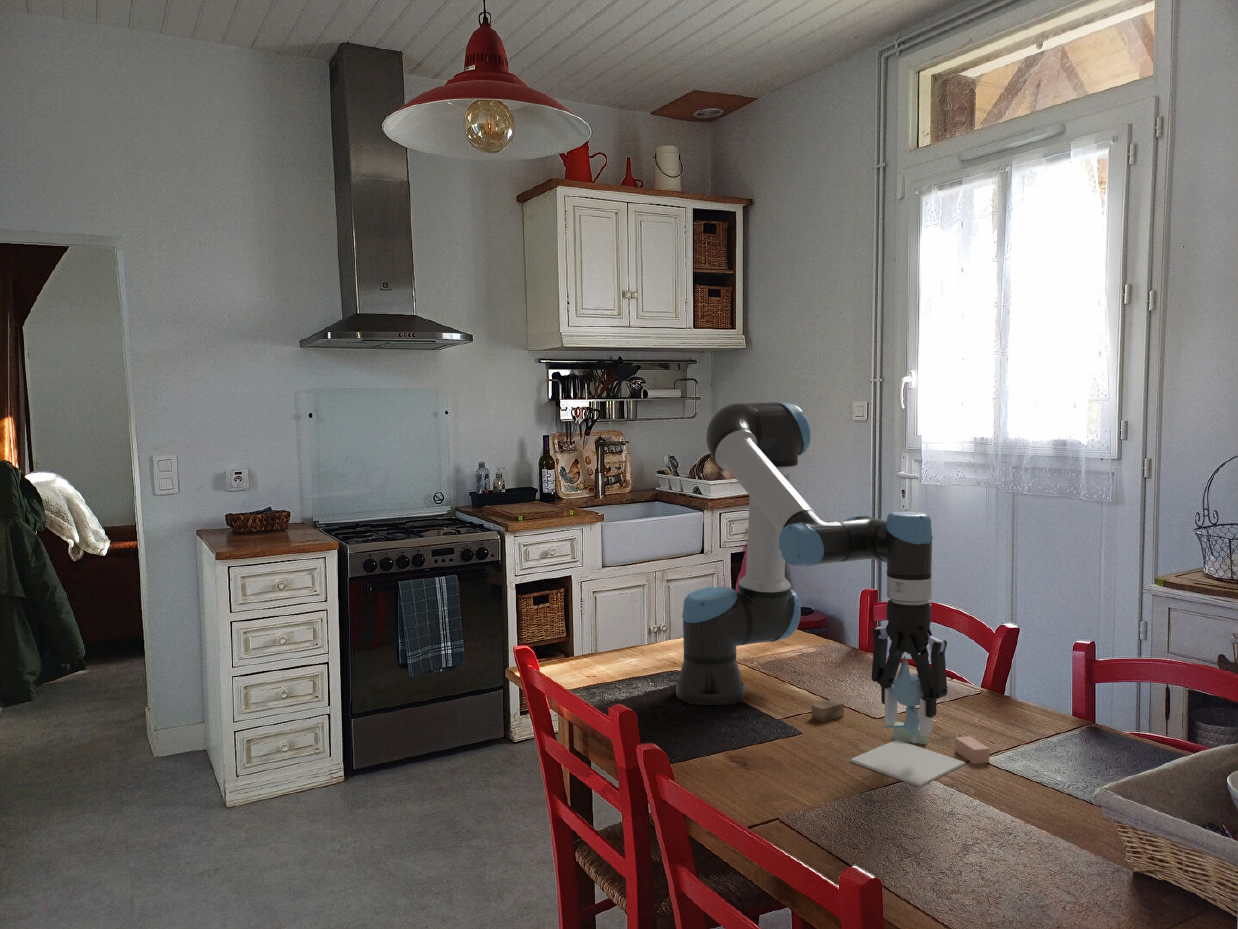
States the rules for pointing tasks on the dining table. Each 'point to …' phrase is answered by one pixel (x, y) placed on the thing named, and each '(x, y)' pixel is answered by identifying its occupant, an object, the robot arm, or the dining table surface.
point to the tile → (908, 762)
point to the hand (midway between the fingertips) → (908, 728)
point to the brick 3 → (972, 750)
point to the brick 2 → (907, 735)
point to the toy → (908, 698)
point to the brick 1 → (827, 710)
